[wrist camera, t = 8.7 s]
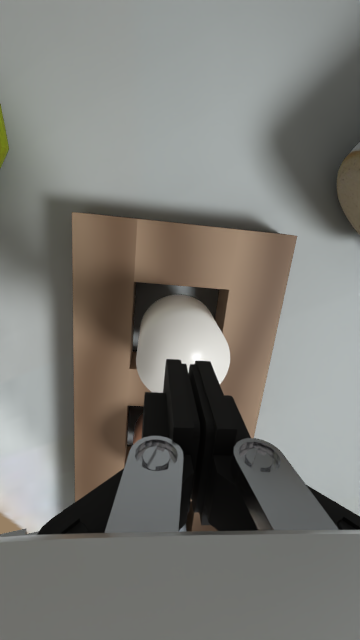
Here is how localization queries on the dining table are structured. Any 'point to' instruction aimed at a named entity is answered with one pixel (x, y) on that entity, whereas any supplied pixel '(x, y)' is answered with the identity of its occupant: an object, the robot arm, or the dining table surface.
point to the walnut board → (118, 321)
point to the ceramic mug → (350, 187)
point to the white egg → (179, 339)
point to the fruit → (3, 139)
